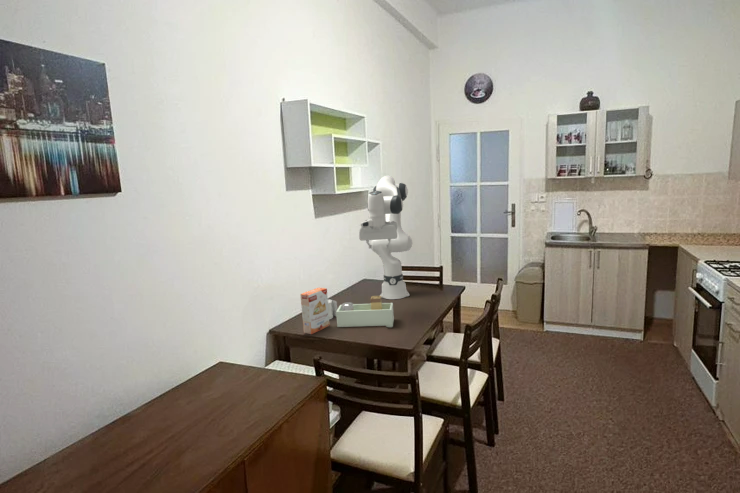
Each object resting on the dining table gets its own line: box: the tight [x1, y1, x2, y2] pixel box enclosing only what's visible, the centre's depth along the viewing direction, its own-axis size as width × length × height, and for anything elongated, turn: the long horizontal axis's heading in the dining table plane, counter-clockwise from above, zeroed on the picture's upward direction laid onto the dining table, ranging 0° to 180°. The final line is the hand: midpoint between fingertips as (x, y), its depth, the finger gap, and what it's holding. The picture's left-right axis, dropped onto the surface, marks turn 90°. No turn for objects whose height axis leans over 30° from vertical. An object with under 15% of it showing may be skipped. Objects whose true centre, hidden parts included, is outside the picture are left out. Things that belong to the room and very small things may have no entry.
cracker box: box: [300, 287, 330, 335], centre depth 221 cm, size 14×6×21 cm, turn 145°
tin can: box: [341, 302, 354, 311], centre depth 228 cm, size 6×6×10 cm
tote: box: [335, 302, 395, 328], centre depth 227 cm, size 12×28×9 cm, turn 84°
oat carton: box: [370, 295, 383, 310], centre depth 226 cm, size 5×5×13 cm
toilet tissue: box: [328, 299, 338, 321], centre depth 240 cm, size 11×12×10 cm
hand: (379, 247), depth 235 cm, fingers open, 8 cm apart
